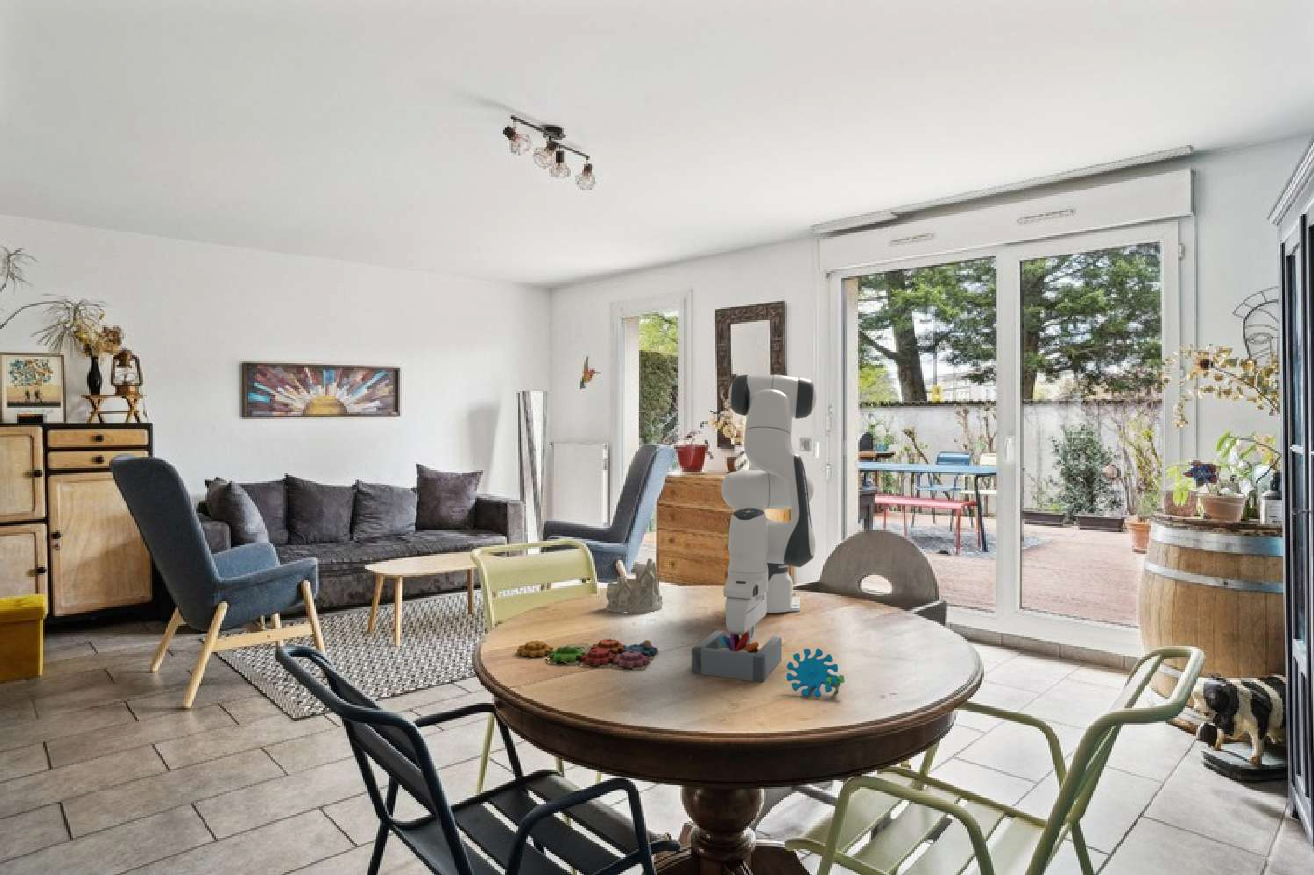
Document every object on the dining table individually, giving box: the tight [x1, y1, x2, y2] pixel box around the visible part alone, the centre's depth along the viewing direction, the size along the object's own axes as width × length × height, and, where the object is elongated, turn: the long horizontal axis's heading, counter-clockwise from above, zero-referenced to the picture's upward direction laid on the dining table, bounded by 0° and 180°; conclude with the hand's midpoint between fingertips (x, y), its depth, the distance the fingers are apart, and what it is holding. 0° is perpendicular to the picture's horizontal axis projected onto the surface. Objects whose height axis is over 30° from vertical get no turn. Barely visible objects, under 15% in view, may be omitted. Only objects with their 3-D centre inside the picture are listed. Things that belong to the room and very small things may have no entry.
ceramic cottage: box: [605, 557, 664, 614], centre depth 218 cm, size 16×16×15 cm
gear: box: [786, 648, 846, 698], centre depth 149 cm, size 11×6×10 cm
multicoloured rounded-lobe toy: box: [717, 632, 760, 653], centre depth 165 cm, size 8×10×7 cm
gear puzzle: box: [516, 638, 659, 672], centre depth 171 cm, size 31×16×4 cm, turn 77°
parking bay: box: [691, 630, 783, 683], centre depth 163 cm, size 16×15×5 cm
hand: (747, 645), depth 171 cm, fingers closed
